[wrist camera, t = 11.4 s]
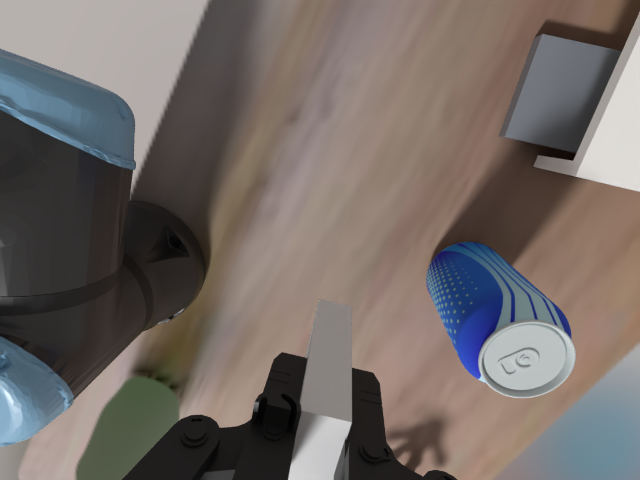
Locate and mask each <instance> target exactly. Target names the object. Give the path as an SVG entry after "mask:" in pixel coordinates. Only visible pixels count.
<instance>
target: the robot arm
mask: <svg viewBox="0 0 640 480" xmlns="http://www.w3.org/2000/svg"><path fill="white" fill-rule="evenodd" d="M134 133H135V120H134V115H133V113H132V110H131V109H130V107H129V106H128V104H127V103H126V102H125V101H124V100H123V99H122V98H120V97H119V96H118V95H116V94H115V93H113V92H111V91H109V90H107V89H105V88H102V87H100V86H98V85H95V84H93V83H90V82H88V81H85V80H83V79H80V78H78V77H75V76H73V75H70V74H67V73H65V72H62V71H59V70H57V69H54V68H51V67H49V66H46V65H43V64H41V63H38V62H35V61H33V60H30V59H27V58H25V57H22V56H19V55H16V54H13V53H11V52H8V51H5V50H2V49H0V447H2V446H8V445H11V444H15V443H17V442H19V441H23V440H26V439H29V438H30V437H32V436H34V435H35V434H37V433H38V432H39V431H40V430H41V429H43V428H44V427H45V426H46V425H48V424H49V423H50V422H51V421H52V420H54V419H55V418H56V417H57V416H59V415H60V414H61V413H62V412H64V411H66V410H67V409H68V408H69V407H70V406H71V405H72V403H73V400H74V399H75V398H76V397H77V396H78V395H79V394H80V393H81V392H82V391H83V390H84V389H85V388H86V387H87V386H88V385H89V384H90V383H91V382H92V381H93V380H94V379H95V378H96V377H97V376H98V375H99V374H100V373H101V372H102V371H103V370H104V369H105V368H106V367H107V366H108V365H109V364H110V363H111V362H112V361H113V360H114V359H115V358H116V357H117V356H118V355H119V354H120V353H121V352H122V351H123V350H124V349H125V348H126V347H127V346H128V345H129V344H130V343H131V342H132V341H133V340H134V339H135V338H136V337H137V336H139V335H140V334H141V333H142V332H143V331H145V330H148V329H150V328H152V327H154V326H155V325H158V324H162V323H165V322H167V321H170V320H172V319H174V318H175V317H177V316H178V315H180V314H181V313H182V312H183V311H185V310H186V309H187V307H188V306H189V305H190V304H191V303H192V302H193V301H194V300H195V298H196V297H197V296H198V294H199V292H200V290H201V288H202V285H203V281H204V274H205V266H204V259H203V254H202V251H201V249H200V246H199V244H198V242H197V240H196V238H195V237H194V235H193V234H192V232H191V231H190V230H189V228H188V227H187V226H186V225H185V224H184V223H183V222H182V221H181V220H180V219H179V218H177V217H176V216H175V215H173V214H172V213H170V212H169V211H167V210H165V209H163V208H161V207H158V206H156V205H153V204H149V203H145V202H129V199H130V190H131V182H132V174H133V170H135V168H136V162H135V161H134ZM122 480H457V479H456V478H455V477H453V476H452V475H450V474H448V473H446V472H444V471H439V470H433V471H428V472H427V473H426V474H425V475H424V476H421V475H419V474H417V473H415V472H414V471H412V470H410V469H408V468H407V467H405V466H404V465H402V464H401V463H400V462H399V461H398V460H396V459H395V457H394V455H393V452H392V449H391V448H390V447H389V445H388V444H387V442H386V436H385V427H384V418H383V409H382V400H381V391H380V383H379V382H378V380H377V378H376V377H375V375H374V373H372V372H368V371H363V370H359V369H355V368H352V306H347V305H343V304H339V303H335V302H330V301H326V300H322V299H319V302H318V306H317V311H316V315H315V319H314V323H313V327H312V331H311V335H310V340H309V344H308V348H307V353H306V358H304V357H300V356H296V355H292V354H287V353H283V352H282V353H281V354H279V355H278V356H277V357H276V358H275V359H274V361H273V364H272V367H271V370H270V373H269V376H268V379H267V382H266V385H265V388H264V391H263V393H262V394H260V395H259V396H258V398H257V399H256V401H255V404H254V409H253V414H252V419H251V420H249V421H248V422H246V423H245V424H242V425H240V426H236V427H226V428H219V426H218V424H217V422H216V421H214V420H213V419H212V418H210V417H207V416H204V415H191V416H188V417H185V418H182V419H181V420H180V421H178V422H177V423H176V424H174V425H173V426H172V428H171V429H170V430H169V431H168V432H167V433H166V434H165V435H164V436H163V437H162V438H161V439H160V440H159V441H158V442H157V443H156V444H155V446H154V447H153V448H152V449H151V450H150V451H149V452H148V453H147V454H146V455H145V456H144V457H143V458H142V459H141V460H140V461H139V462H138V464H137V465H136V466H135V467H134V468H133V469H132V470H131V471H130V472H129V473H128V474H127V475H126V476H125V477H124V478H123V479H122Z"/></svg>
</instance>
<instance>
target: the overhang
mask: <svg viewBox="0 0 640 480" xmlns="http://www.w3.org/2000/svg"><path fill="white" fill-rule="evenodd" d="M533 167H536V168H540V169H545V170H549V171H553V172H558V173H562V174H566V175H571V176H575V177H579V178H583V179H588V180H592V181H596V182H601V183H605V184H609V185H614V186H618V187H622V188H626V189H631V190H635V191H639V192H640V12H639V15H638V17H637V19H636V21H635V24H634V26H633V28H632V30H631V33H630V35H629V37H628V39H627V41H626V44H625V46H624V48H623V50H622V53H621V55H620V57H619V59H618V62H617V64H616V66H615V68H614V71H613V73H612V75H611V77H610V80H609V82H608V84H607V86H606V88H605V91H604V93H603V95H602V97H601V100H600V102H599V104H598V106H597V109H596V111H595V113H594V115H593V118H592V120H591V122H590V124H589V127H588V129H587V131H586V133H585V136H584V138H583V140H582V142H581V144H580V147H579V149H578V151H577V153H576V156H575V158H574V160H573V161H571V160H565V159H559V158H553V157H546V156H540V155H538V157H537V159H536V161H535V164H534V166H533Z"/></svg>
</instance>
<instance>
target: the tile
mask: <svg viewBox="0 0 640 480" xmlns="http://www.w3.org/2000/svg"><path fill="white" fill-rule="evenodd" d="M621 53H622V51H619V50H615V49H610V48H605V47H601V46H596V45H591V44H587V43H582V42H578V41H573V40H568V39H564V38H559V37H555V36H550V35H545V34H541V35H539V36H537V37H535V38H534V40H533V43H532V46H531V48H530V51H529V54H528V57H527V59H526V62H525V65H524V68H523V71H522V73H521V76H520V79H519V82H518V84H517V87H516V90H515V93H514V95H513V98H512V101H511V104H510V106H509V109H508V112H507V115H506V118H505V120H504V123H503V126H502V129H501V131H500V134H499V136H500V137H504V138H509V139H513V140H518V141H522V142H527V143H531V144H536V145H540V146H545V147H549V148H554V149H558V150H563V151H567V152H572V153H577V151H578V149H579V147H580V144H581V142H582V140H583V138H584V136H585V133H586V131H587V129H588V127H589V124H590V122H591V120H592V118H593V115H594V113H595V111H596V109H597V106H598V104H599V102H600V100H601V97H602V95H603V93H604V91H605V88H606V86H607V84H608V82H609V80H610V77H611V75H612V73H613V71H614V68H615V66H616V64H617V62H618V59H619V57H620V55H621Z"/></svg>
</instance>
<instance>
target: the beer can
mask: <svg viewBox="0 0 640 480" xmlns="http://www.w3.org/2000/svg"><path fill="white" fill-rule="evenodd" d="M426 283H427V288H428V291H429V293H430V295H431V298H432V300H433V302H434V304H435V306H436V308H437V311H438V313H439V315H440V317H441V319H442V321H443V324H444V326H445V328H446V330H447V332H448V334H449V337H450V339H451V341H452V343H453V345H454V347H455V350H456V352H457V354H458V356H459V358H460V360H461V362H462V364H463V365H464V367H465V368H466V369H467V370H468V372H469V373H471V374H472V375H473V376H474V377H476V378H477V379H479V380H480V381H482V382H484V383H486V384H488V385H489V386H490V387H491V388H492V389H493V390H495V391H497V392H498V393H500V394H503V395H505V396H509V397H514V398H531V397H536V396H540V395H543V394H546V393H548V392H550V391H552V390H554V389H555V388H557V387H558V386H559V385H561V384H562V383H563V382H564V381H565V380H566V379H567V378H568V376H569V375H570V373H571V372H572V370H573V367H574V364H575V359H576V352H575V347H574V344H573V342H572V340H571V329H570V326H569V323H568V321H567V318H566V317H565V315H564V314H563V312H562V311H561V310H560V309H559V308H558V307H557V306H556V305H555V304H554V303H553V302H552V301H550V300H549V299H548V298H547V297H546V296H545V295H544V294H543V293H541V292H540V291H539V290H538V289H537V288H536V287H535V286H533V285H532V284H531V283H530V282H529V281H528V280H527V279H526V278H524V277H523V276H522V275H521V274H520V273H519V272H518V271H516V270H515V269H514V268H513V267H512V266H511V265H510V264H509V263H507V262H506V261H505V260H504V259H503V258H502V257H501V256H499V255H498V254H497V253H496V252H495V251H494V250H492V249H491V248H489V247H488V246H486V245H483V244H480V243H476V242H461V243H457V244H453V245H451V246H449V247H447V248H445V249H443V250H442V251H441V252H440V253H438V254H437V255H436V256H435V258H434V259H433V260H432V262H431V263H430V265H429V268H428V271H427V275H426Z"/></svg>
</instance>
